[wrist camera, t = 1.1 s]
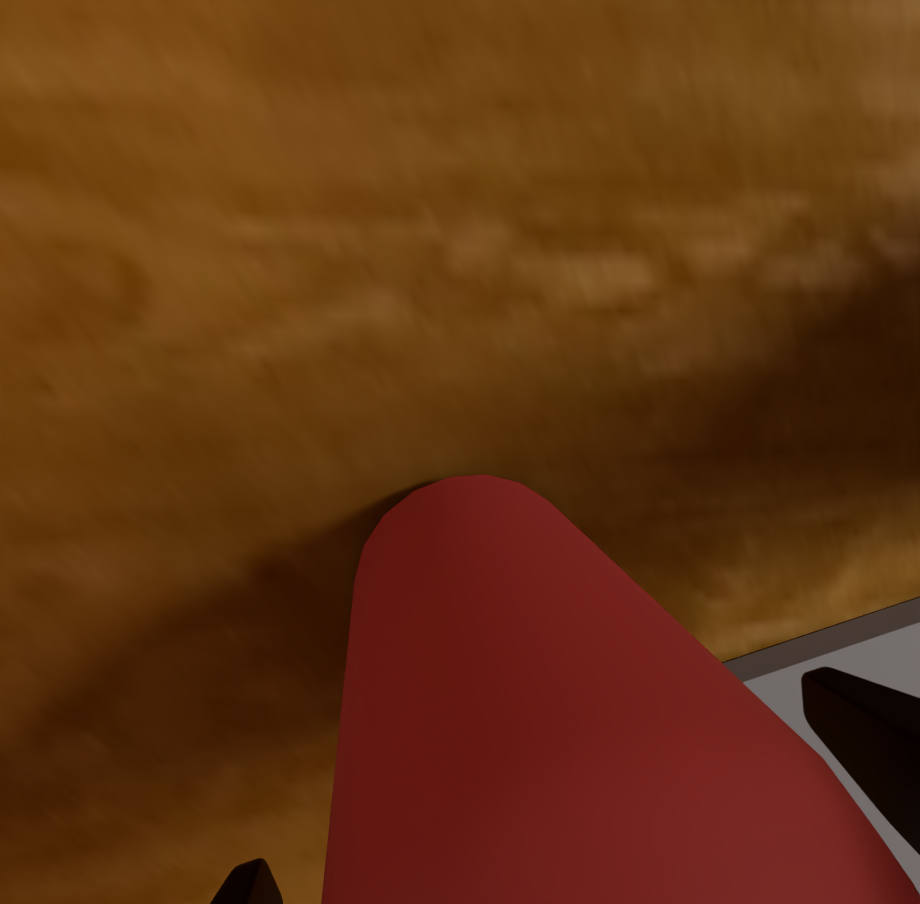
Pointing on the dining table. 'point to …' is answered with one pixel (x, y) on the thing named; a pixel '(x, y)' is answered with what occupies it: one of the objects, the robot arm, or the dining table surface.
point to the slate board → (855, 652)
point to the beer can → (563, 734)
